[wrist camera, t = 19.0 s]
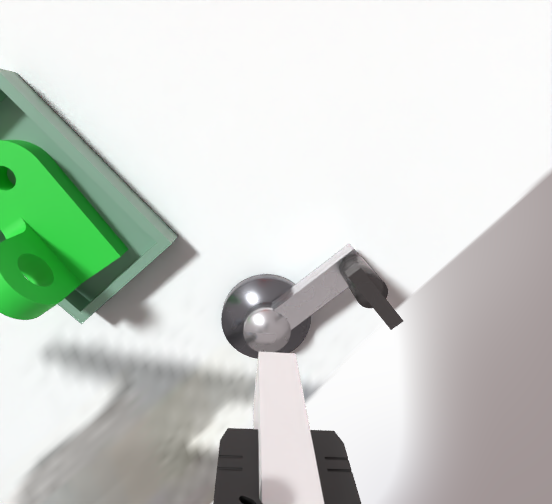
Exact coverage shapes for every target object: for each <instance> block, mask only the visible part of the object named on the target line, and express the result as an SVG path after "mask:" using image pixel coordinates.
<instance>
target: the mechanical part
mask: <svg viewBox="0 0 552 504" xmlns="http://www.w3.org/2000/svg"><path fill="white" fill-rule="evenodd" d="M8 168H9V169H10V170H11V171H12V172H13V173H14V175H15V177H16V184H15V185H14V184H12V183H11V182H10V180H9V179H8V176H7V170H8ZM0 230H1V231H2V233H3V234H4V236H5V238H6V240H4V241H3V242H1V243H0V313H2V314H4V315H6V316H9V317H11V318H15V319H21V320H29V319H34V318H37V317H39V316H40V315H42V314H43V313H45V312H46V311H48V310H49V309H51V308H52V307H53V306H55V305H56V304H58V303H59V302H61V301H62V300H63V299H64V298H66V297H67V296H68V295H69V294H70V293H71V292H72V291H74V290H75V289H76V288H77V287H78V286H79V285H80V284H82V283H83V282H84V281H86V280H87V279H89V278H90V277H92V276H93V275H95V274H96V273H98V272H99V271H100V270H102V269H103V268H105V267H106V266H108V265H109V264H111V263H112V262H114V261H115V260H117V259H118V258H119V257H121V256H122V255H123V254H124V253H125V252H126V251H127V250H128V248H127V247H126V246H125V244H124V243H123V242H122V241H121V240H120V238H119V237H118V236H117V235H116V234H115V232H114V231H113V230H112V229H111V228H110V226H109V225H108V224H107V223H106V222H105V221H104V219H103V218H102V217H101V216H100V215H99V213H98V212H97V211H96V210H95V209H94V207H93V206H92V205H91V204H90V203H89V201H88V200H87V199H86V198H85V197H84V195H83V194H82V193H81V192H80V191H79V190H78V188H77V187H76V186H75V185H74V184H73V182H72V181H71V180H70V179H69V178H68V176H67V175H66V174H65V173H64V172H63V170H62V169H61V168H60V167H59V166H58V164H57V163H56V162H55V161H54V160H53V159H52V157H51V156H50V155H49V154H48V153H47V152H46V151H44V150H43V149H42V148H40V147H38V146H37V145H35V144H32V143H30V142H27V141H22V140H0ZM24 276H25V277H26V278H27V279H26V278H25V277H24Z"/></svg>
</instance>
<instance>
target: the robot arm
mask: <svg viewBox="0 0 552 504" xmlns="http://www.w3.org/2000/svg"><path fill="white" fill-rule="evenodd" d="M213 504H361V501H360V498H359V494H358V491H357V487H356V484H355V481H354V477H353V474H352V472H351V467H350V463H349V461H348V456H347V453H346V450H345V446H344V443H343V442H342V441H341V439H340V438H339V437H338V436H337V434H336V433H335V431H321V430H320V431H319V430H310V427H309V422H308V416H307V411H306V406H305V400H304V395H303V390H302V385H301V379H300V374H299V369H298V364H297V358H296V353H277V352H259V353H258V363H257V374H256V385H255V395H254V406H253V429H234V428H228V429H227V431H226V432H225V434H224V435H223V437H222V438H221V440H220V447H219V457H218V466H217V475H216V484H215V493H214V503H213Z"/></svg>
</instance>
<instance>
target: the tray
mask: <svg viewBox="0 0 552 504" xmlns="http://www.w3.org/2000/svg"><path fill="white" fill-rule="evenodd" d="M0 140H22V141H27V142H30V143H32V144H35V145H37V146H38V147H40V148H42V149H43V150H44V151H46V152H47V153H48V154H49V155H50V156H51V157H52V159H53V160H54V161H55V162H56V163H57V164H58V166H59V167H60V168H61V169H62V170H63V172H64V173H65V174H66V175H67V176H68V178H69V179H70V180H71V181H72V182H73V184H74V185H75V186H76V187H77V188H78V190H79V191H80V192H81V193H82V194H83V195H84V197H85V198H86V199H87V200H88V201H89V203H90V204H91V205H92V206H93V207H94V209H95V210H96V211H97V212H98V213H99V215H100V216H101V217H102V218H103V219H104V221H105V222H106V223H107V224H108V225H109V226H110V228H111V229H112V230H113V231H114V232H115V234H116V235H117V236H118V237H119V238H120V240H121V241H122V242H123V243H124V244H125V246H126V247H127V248H128V250H127V251H126V252H125V253H124V254H123V255H122V256H121V257H119V258H118V259H117V260H115V261H114V262H112V263H111V264H109V265H108V266H106V267H105V268H103V269H102V270H100V271H99V272H98V273H96V274H95V275H93V276H92V277H90V278H89V279H87V280H86V281H84V282H83V283H82V284H80V285H79V286H78V287H77V288H76V289H75V290H74V291H72V292H71V293H70V294H69V295H68V296H67V297H66V298H64V299H63V300H62V301H61V302H59V303H58V305H59V306H61V307H62V308H63V309H64V310H65V311H66V312H68V313H69V314H70V315H71V316H72V317H74V318H75V319H76V320H77V321H78V322H80V323H81V324H82V323H83V322H84V321H85V320H87V319H88V318H89V317H90V316H91V315H92V314H93V313H94V312H96V311H97V310H98V309H99V308H100V307H101V306H102V305H103V304H105V303H106V302H107V301H108V300H109V299H110V298H111V297H112V296H114V295H115V294H116V293H117V292H118V291H119V290H120V289H121V288H123V287H124V286H125V285H126V284H127V283H128V282H129V281H131V280H132V279H133V278H134V277H135V276H136V275H137V274H138V273H140V272H141V271H142V270H143V269H144V268H145V267H146V266H147V265H149V264H150V263H151V262H152V261H153V260H154V259H155V258H156V257H158V256H159V255H160V254H161V253H162V252H163V251H164V250H165V249H167V248H168V247H169V246H170V245H171V244H172V243H173V242H174V240H175V239H176V237H177V235H176V234H175V233H174V232H173V231H172V230H171V229H170V228H169V227H168V225H167V224H166V223H165V222H164V221H163V220H162V219H161V218H160V217H159V216H158V215H157V214H156V213H155V212H154V211H153V210H152V209H151V208H150V207H149V206H148V205H147V204H146V203H145V202H144V201H143V200H142V199H141V198H140V197H139V196H138V195H137V194H136V193H135V192H134V191H133V190H132V189H131V188H130V187H129V186H128V185H127V184H126V183H125V182H124V181H123V180H122V179H121V178H120V177H119V176H118V175H117V174H116V173H115V172H114V171H113V170H112V169H111V168H110V167H109V166H108V165H107V164H106V163H105V162H104V161H103V160H102V159H101V158H100V157H99V156H98V155H97V154H96V153H95V152H94V151H93V150H92V149H91V148H90V147H89V146H88V145H87V144H86V143H85V142H84V141H83V140H82V139H81V138H80V137H79V136H78V135H77V134H76V133H75V132H74V131H73V130H72V129H71V128H70V127H69V126H68V125H67V124H66V123H65V122H64V121H63V120H62V119H61V118H60V117H59V116H58V115H57V114H56V113H55V112H54V111H53V110H52V109H51V108H50V107H49V106H48V105H47V104H46V103H45V102H44V101H43V99H42V98H41V97H40V96H39V95H38V94H37V93H36V92H35V91H34V90H33V89H32V88H31V87H30V86H29V85H28V84H27V83H26V82H25V81H24V80H23V79H22V78H21V77H20V76H19V75H18V74H17V73H15V72H11V71H7V70H3V69H0ZM7 176H8V179H9V180H10V182H11V183H12V184H14V185H15V184H16V177H15V175H14V173H13V172H12V171H11V170H10V169H9V168H8V170H7ZM4 240H6V238H5V236H4V234H3V233H2V231H1V230H0V243H1V242H3V241H4Z"/></svg>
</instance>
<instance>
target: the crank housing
mask: <svg viewBox="0 0 552 504" xmlns="http://www.w3.org/2000/svg"><path fill="white" fill-rule="evenodd" d="M294 285H295V284H294V283H293V282H291V281H290V280H288V279H286V278H284V277H281V276H277V275H271V274H262V275H256V276H252V277H249V278H247V279H245V280H243V281H241V282H240V283H238V284H237V285H236V286H235V287H234V288H233V289H232V290H231V291H230V293H229V294H228V296H227V298H226V300H225V302H224V306H223V311H222V328H223V332H224V334H225V336H226V338H227V340H228V341H229V343H230V344H231V345H232V346H233V347H234V348H235V349H236V350H238V351H239V352H241V353H242V354H244V355H247V356H249V357H252V358H257V359H258V353H259V352H258V351H255V350H253V349H252V348H251V347H249V345H248V344H247V343H246V341H245V339H244V334H243V331H244V318H245V315H246V313H247V312H248V311H249V309H251V308H252V307H253V306H255V305H257V304H259V303H263V302H270V303H272V302H273V301H275V300H276V299H277V298H279V297H280V296H281V295H283V294H284V293H285V292H286V291H288V290H289V289H290V288H292V287H293V286H294ZM310 319H311V317H310V316H309V317H308V318H306V319H305V320H304V321H302V322H301V323H300V324H298V325H297V326H296V327H294V328H293V329H292V330H291V334H290V338H289V340H288V342H287V344H286V345H285V346H284V347H283V348H281V349H280V350H278V351H275V352H277V353H290V352H291V351H293V350H294V349H295V348H297V347H298V346H299V345H300V344H301V343H302V341H303V340H304V338H305V337H306V335H307V333H308V330H309V327H310Z"/></svg>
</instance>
